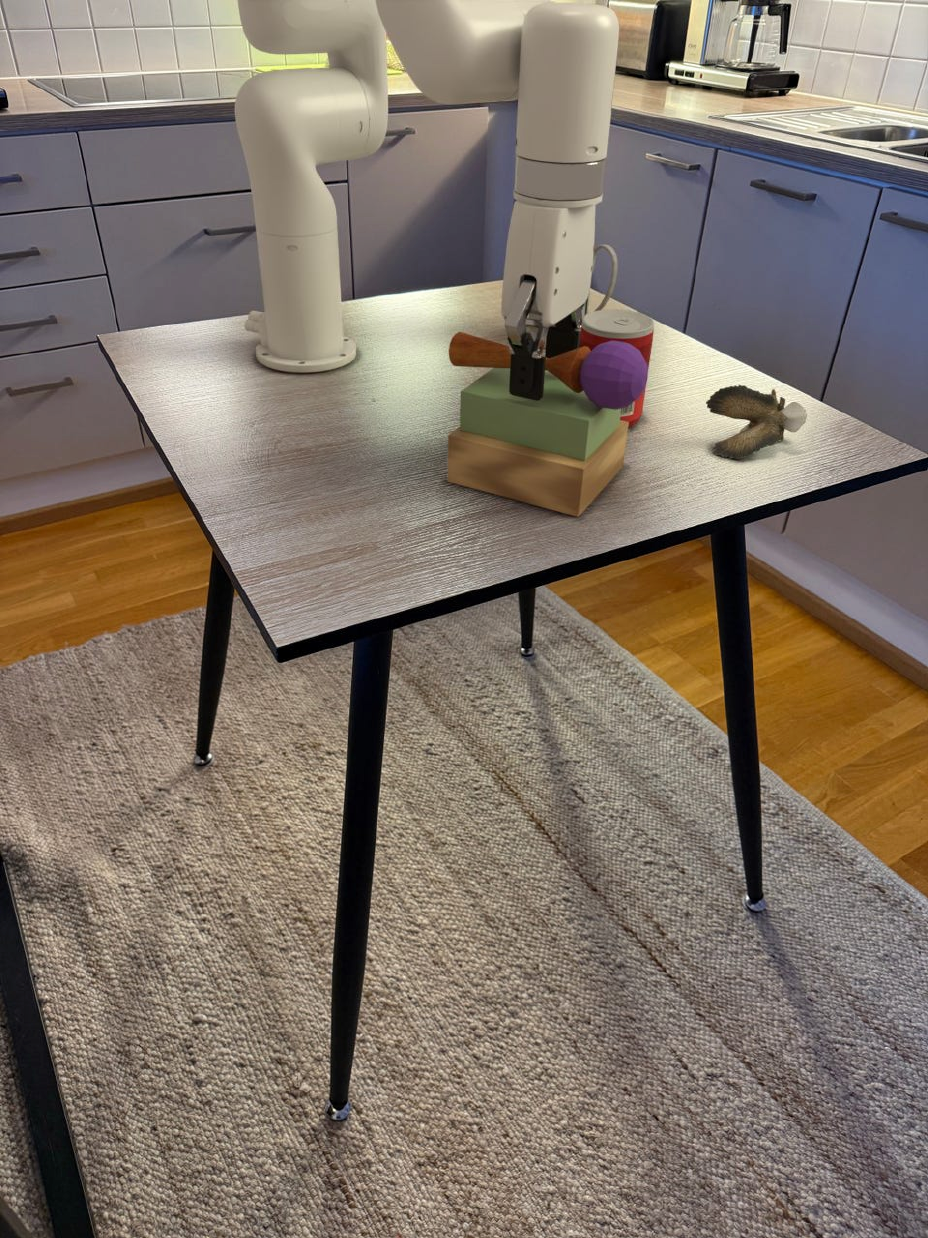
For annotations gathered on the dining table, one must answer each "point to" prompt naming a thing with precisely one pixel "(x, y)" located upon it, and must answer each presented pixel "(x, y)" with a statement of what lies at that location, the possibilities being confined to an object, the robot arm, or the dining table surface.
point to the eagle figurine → (754, 419)
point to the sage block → (536, 416)
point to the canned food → (622, 329)
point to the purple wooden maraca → (569, 367)
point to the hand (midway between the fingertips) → (543, 381)
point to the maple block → (534, 470)
